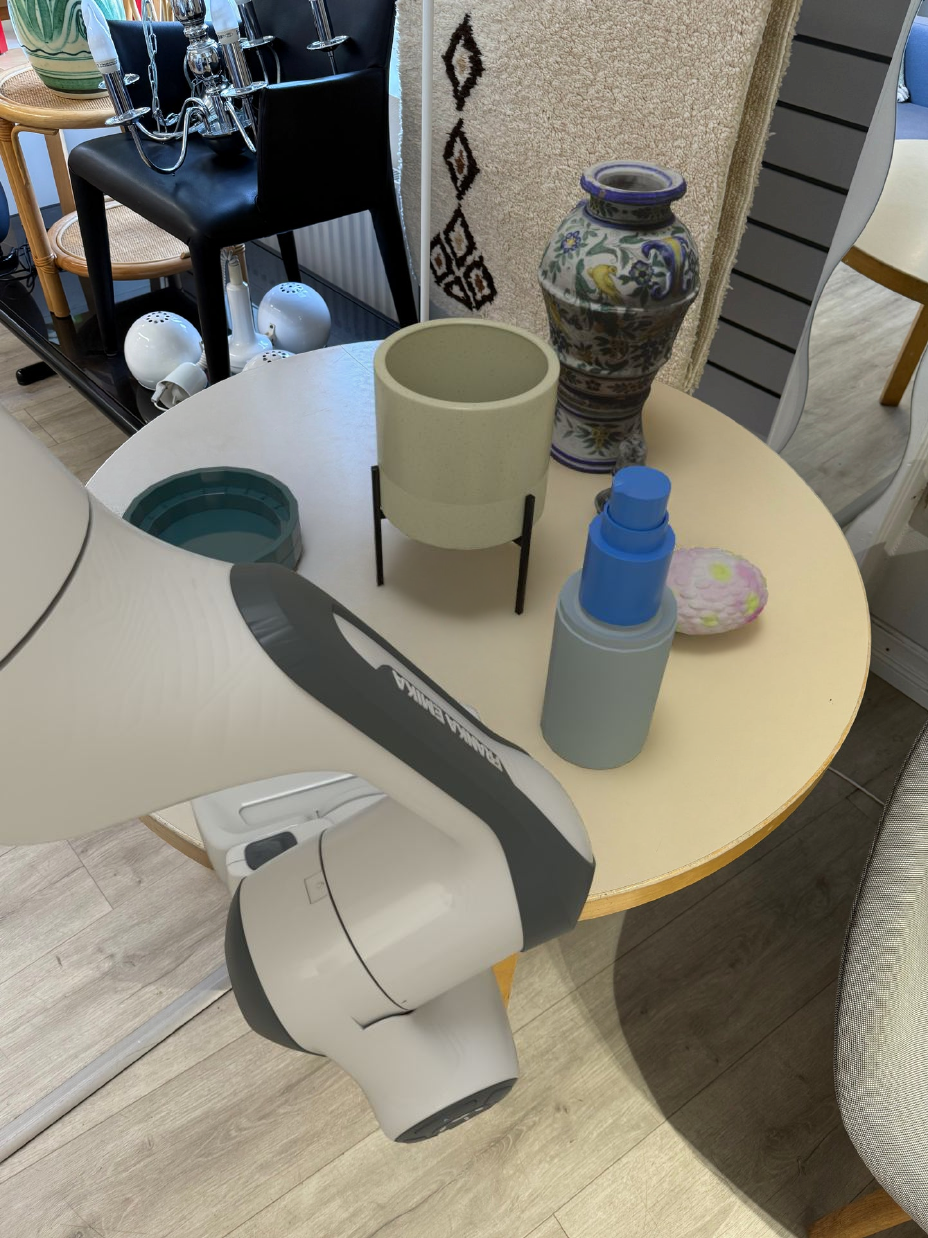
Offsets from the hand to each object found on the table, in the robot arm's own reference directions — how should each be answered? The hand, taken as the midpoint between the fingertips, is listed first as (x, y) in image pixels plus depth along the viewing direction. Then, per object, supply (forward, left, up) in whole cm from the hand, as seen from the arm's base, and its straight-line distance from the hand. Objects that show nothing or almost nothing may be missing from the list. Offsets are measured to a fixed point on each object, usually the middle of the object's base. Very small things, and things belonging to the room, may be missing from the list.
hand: (319, 700), depth 66 cm
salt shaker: (+32, +26, -9) cm, 42 cm away
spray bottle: (+22, +1, -9) cm, 24 cm away
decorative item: (+35, +12, -9) cm, 38 cm away
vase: (+34, +42, -9) cm, 55 cm away
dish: (-9, +28, -9) cm, 31 cm away
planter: (+14, +22, -9) cm, 28 cm away
